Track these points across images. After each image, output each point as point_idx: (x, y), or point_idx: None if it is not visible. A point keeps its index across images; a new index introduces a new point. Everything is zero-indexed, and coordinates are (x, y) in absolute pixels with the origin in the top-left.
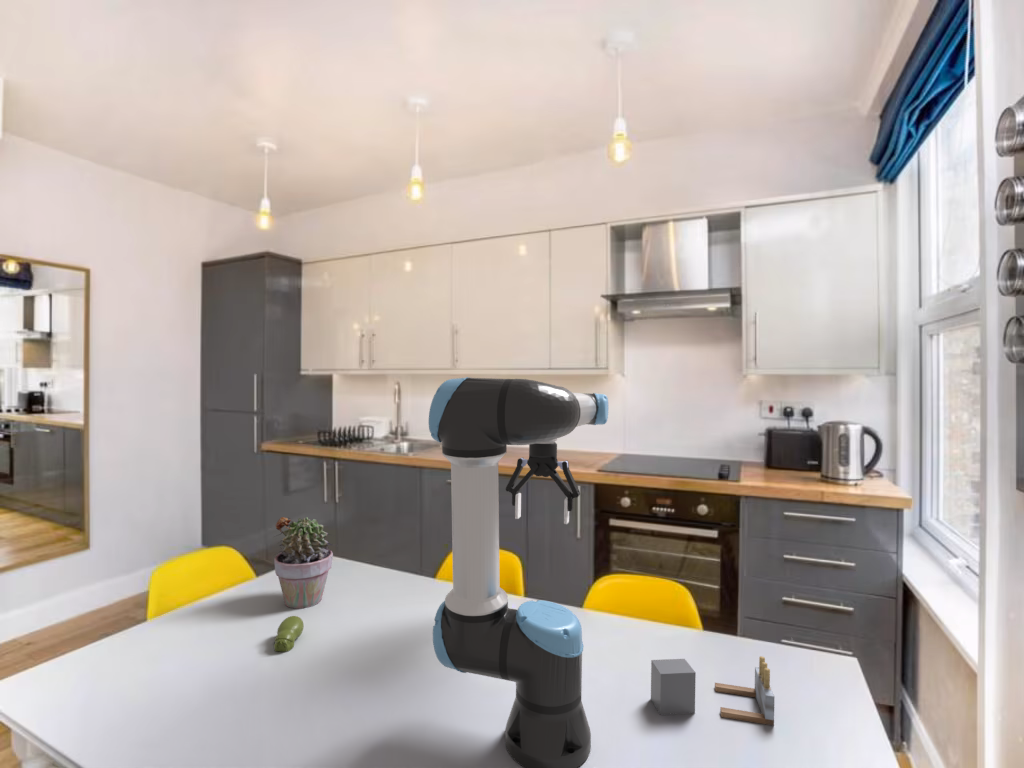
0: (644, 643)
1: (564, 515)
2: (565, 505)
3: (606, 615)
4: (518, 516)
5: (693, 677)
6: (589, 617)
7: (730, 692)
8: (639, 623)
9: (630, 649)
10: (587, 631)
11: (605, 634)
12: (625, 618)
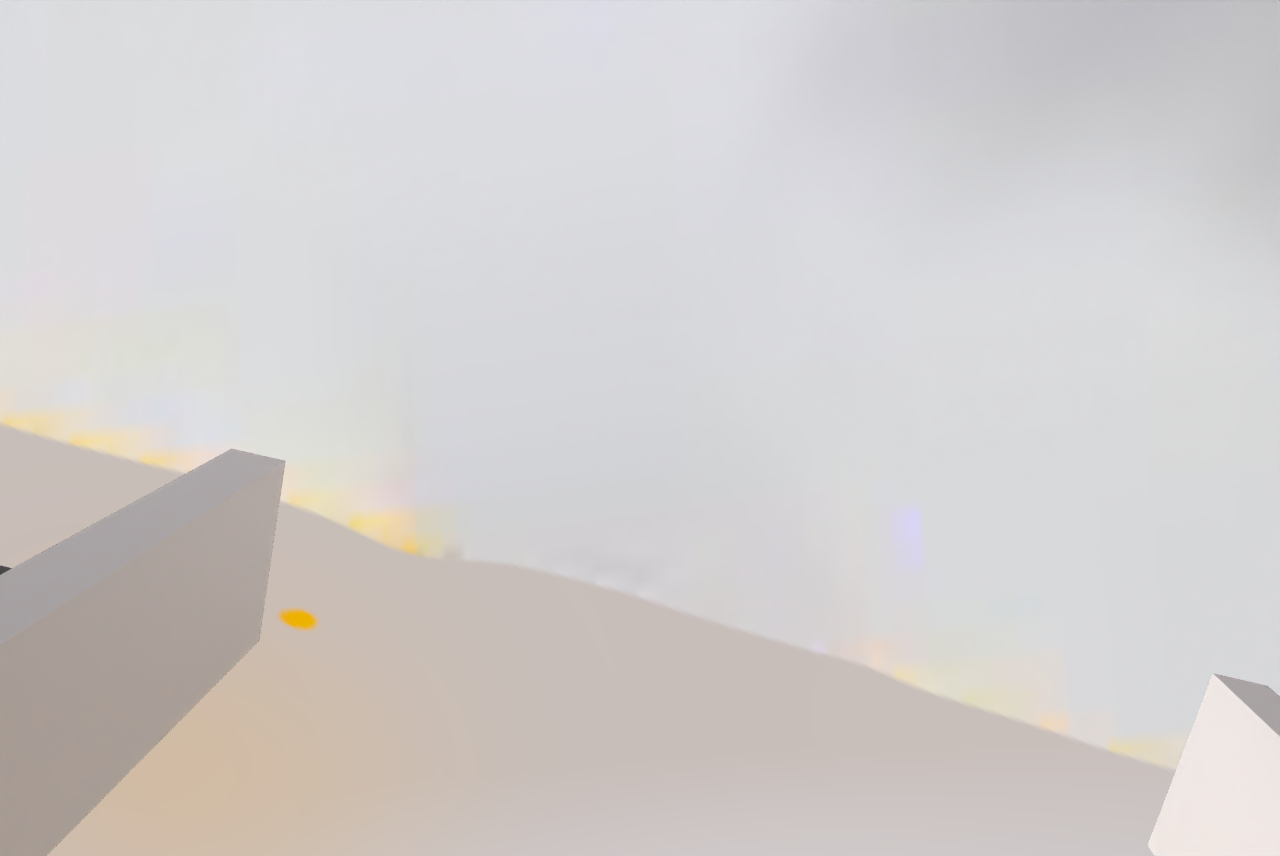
0: (24, 111)
1: (199, 504)
2: (38, 591)
3: None
4: (1215, 738)
5: None
6: (376, 426)
7: None
8: (53, 384)
9: (110, 15)
10: (385, 222)
11: (268, 197)
12: (142, 443)
